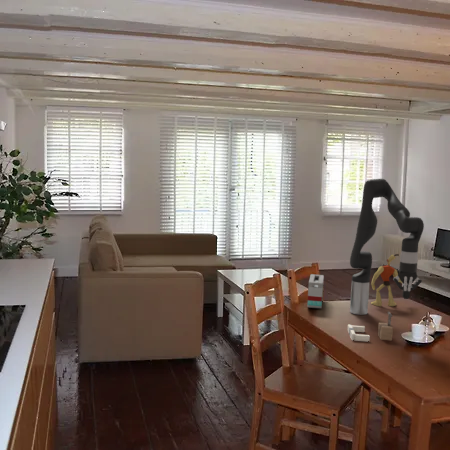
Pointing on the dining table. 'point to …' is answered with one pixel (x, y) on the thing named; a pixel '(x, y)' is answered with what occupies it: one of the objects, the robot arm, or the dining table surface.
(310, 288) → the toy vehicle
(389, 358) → the dining table surface
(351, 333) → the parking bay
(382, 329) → the tan block
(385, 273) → the toy
